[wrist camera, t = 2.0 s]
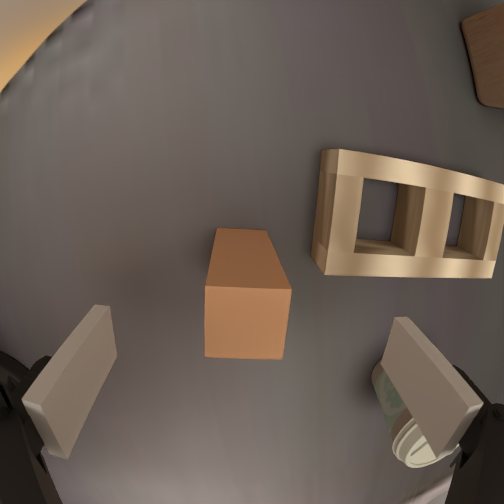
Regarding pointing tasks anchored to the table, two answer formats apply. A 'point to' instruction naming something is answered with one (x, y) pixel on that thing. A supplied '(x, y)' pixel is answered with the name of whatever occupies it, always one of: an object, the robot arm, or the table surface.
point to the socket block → (405, 220)
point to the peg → (245, 297)
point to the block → (487, 54)
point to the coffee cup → (401, 423)
